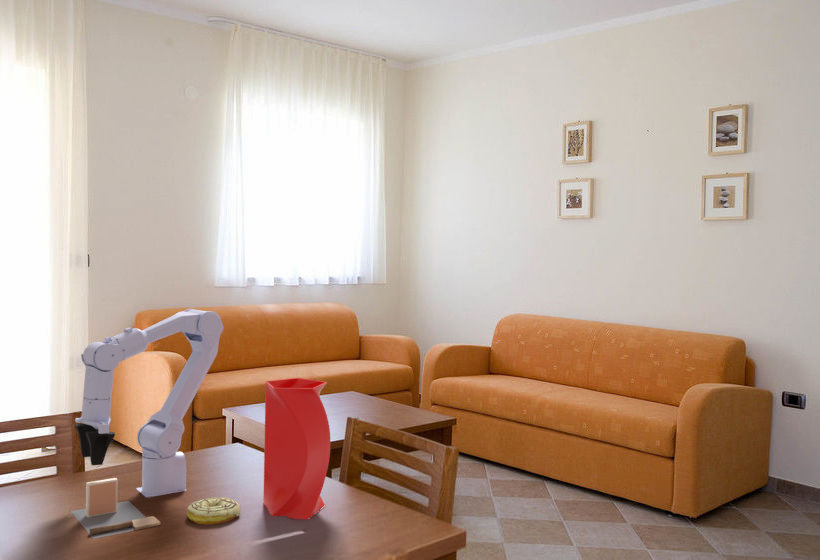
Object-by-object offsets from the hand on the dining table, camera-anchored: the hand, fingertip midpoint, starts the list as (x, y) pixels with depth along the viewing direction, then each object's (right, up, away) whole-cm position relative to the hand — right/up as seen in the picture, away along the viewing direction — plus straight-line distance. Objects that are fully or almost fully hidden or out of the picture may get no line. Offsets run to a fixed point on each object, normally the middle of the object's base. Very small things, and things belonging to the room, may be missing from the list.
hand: (92, 460), depth 160 cm
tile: (+4, -10, -4) cm, 12 cm away
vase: (+43, -12, +3) cm, 44 cm away
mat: (+7, -11, -7) cm, 15 cm away
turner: (+12, -11, -12) cm, 20 cm away
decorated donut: (+27, -12, -4) cm, 30 cm away
